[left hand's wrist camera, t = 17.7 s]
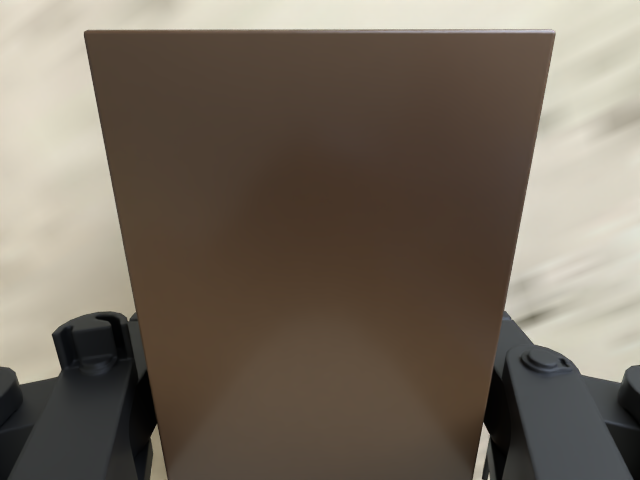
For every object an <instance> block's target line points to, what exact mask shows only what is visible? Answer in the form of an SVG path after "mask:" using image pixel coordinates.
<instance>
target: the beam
mask: <svg viewBox="0 0 640 480" xmlns="http://www.w3.org/2000/svg"><path fill="white" fill-rule="evenodd" d="M84 38H85V44H86V49H87V54H88V60H89V65H90V70H91V75H92V81H93V86H94V91H95V97H96V102H97V107H98V112H99V118H100V123H101V128H102V134H103V139H104V144H105V149H106V155H107V160H108V165H109V171H110V176H111V181H112V187H113V192H114V197H115V202H116V208H117V213H118V218H119V224H120V229H121V234H122V239H123V245H124V250H125V255H126V261H127V266H128V271H129V276H130V282H131V287H132V292H133V298H134V303H135V308H136V313H137V319H138V324H139V329H140V335H141V340H142V345H143V351H144V356H145V361H146V366H147V372H148V377H149V382H150V388H151V393H152V398H153V403H154V409H155V414H156V419H157V425H158V430H159V435H160V440H161V446H162V451H163V456H164V462H165V467H166V472H167V477H168V480H472V479H473V474H474V468H475V463H476V458H477V452H478V447H479V441H480V436H481V431H482V425H483V420H484V415H485V409H486V404H487V399H488V393H489V388H490V383H491V377H492V372H493V366H494V361H495V356H496V350H497V345H498V340H499V334H500V329H501V324H502V318H503V313H504V308H505V302H506V297H507V291H508V286H509V281H510V275H511V270H512V265H513V259H514V254H515V249H516V243H517V238H518V232H519V227H520V222H521V216H522V211H523V206H524V200H525V195H526V190H527V184H528V179H529V174H530V168H531V163H532V157H533V152H534V147H535V141H536V136H537V131H538V125H539V120H540V115H541V109H542V104H543V99H544V93H545V88H546V82H547V77H548V72H549V66H550V61H551V56H552V50H553V45H554V40H555V31H554V30H552V29H389V30H87V31H85V32H84Z"/></svg>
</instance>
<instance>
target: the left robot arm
mask: <svg viewBox="0 0 640 480" xmlns="http://www.w3.org/2000/svg"><path fill="white" fill-rule="evenodd" d="M52 337H53V341H54V344H55V348H56V351H57V355H58V358H59V362H60V366H61V369H62V370H61V372H60V374H59V376H58V377H55V378H51V379H46V380H41V381H36V382H31V383H26V384H21V385H19V382H18V379H17V376H16V373H15V372H14V371H13V370H12V369H10V368H7V367H0V480H150V474H151V467H152V459H153V449H152V443H151V438H150V437H151V435H152V433H153V430H154V428H155V426H156V424H157V419H156V414H155V409H154V403H153V398H152V393H151V388H150V382H149V377H148V372H147V366H146V361H145V356H144V351H143V345H142V340H141V335H140V329H139V324H138V319H137V313H134V314H133V316H132V317H131V318H130V320H129V321H127V317H125V316H124V315H122V314H121V313H116V312H111V311H109V312H96V313H91V314H86V315H83V316H80V317H77V318H75V319H72V320H70V321H68V322H66V323H65V324H63V325H61V326H60V327H58V328H57V329H56V330H55V332H54V333H53V334H52ZM483 422H484V424H485V426H486V428H487V430H488V432H489V434H490V438H489V443H488V448H487V453H486V458H485V463H484V468H483V474H482V480H487V479H488V475H489V473H490V480H640V365H636V366H631V367H630V368H628V369H627V370H626V371H625V374H624V377H623V380H622V383H618V382H613V381H608V380H603V379H598V378H593V377H588V376H584V375H581V374H580V372H579V370H578V368H577V367H576V366H575V365H574V363H573V362H572V361H571V360H569V359H568V358H566V357H565V356H563V355H562V354H560V353H558V352H556V351H554V350H551V349H549V348H546V347H542V346H538V345H534V344H533V343H532V342H531V340H530V339H529V338H528V337H527V336H526V335H525V333H524V332H523V331H522V330H521V329H520V328H519V326H518V325H517V324H516V323H515V322H514V321H513V320H511V317H510V316H509V315H508V314H507V312H506V311H504V313H503V318H502V324H501V329H500V334H499V340H498V345H497V350H496V356H495V361H494V366H493V372H492V377H491V383H490V388H489V393H488V399H487V404H486V409H485V415H484V420H483Z"/></svg>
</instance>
